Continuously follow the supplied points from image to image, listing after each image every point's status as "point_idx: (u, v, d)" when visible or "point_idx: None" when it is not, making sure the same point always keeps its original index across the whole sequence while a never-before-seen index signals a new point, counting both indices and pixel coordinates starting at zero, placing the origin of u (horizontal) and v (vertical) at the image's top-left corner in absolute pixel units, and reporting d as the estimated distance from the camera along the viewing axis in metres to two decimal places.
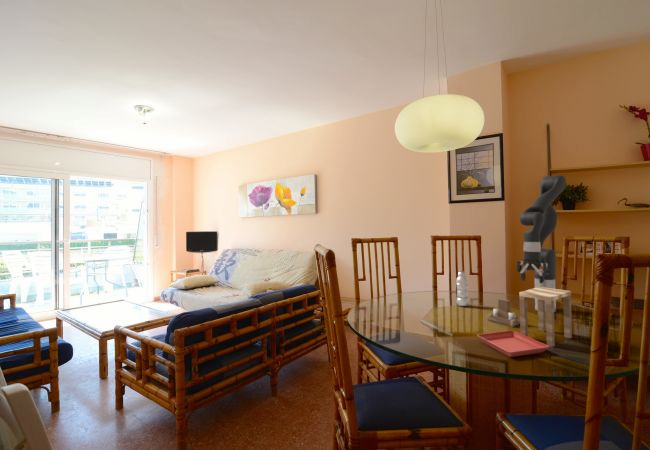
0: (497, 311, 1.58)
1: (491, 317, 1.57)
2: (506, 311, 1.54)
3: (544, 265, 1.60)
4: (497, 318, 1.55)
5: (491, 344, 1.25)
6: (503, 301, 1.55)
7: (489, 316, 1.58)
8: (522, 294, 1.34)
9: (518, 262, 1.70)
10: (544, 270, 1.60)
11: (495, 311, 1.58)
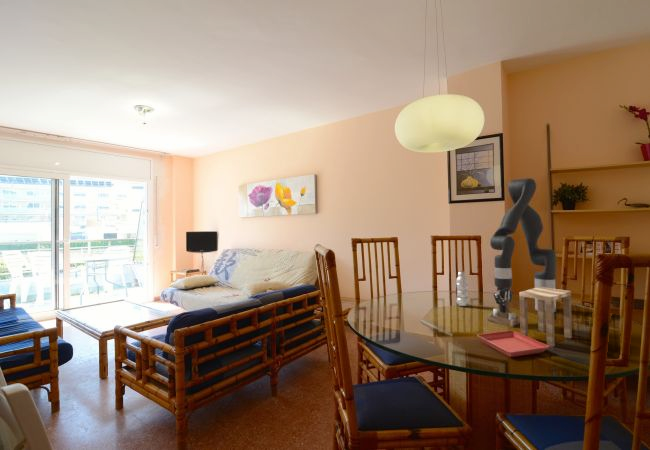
0: (497, 311, 1.58)
1: (491, 317, 1.57)
2: (506, 311, 1.54)
3: (512, 293, 1.58)
4: (497, 318, 1.55)
5: (491, 344, 1.25)
6: None
7: (489, 316, 1.58)
8: (522, 294, 1.34)
9: (499, 296, 1.52)
10: (511, 297, 1.57)
11: (495, 311, 1.58)
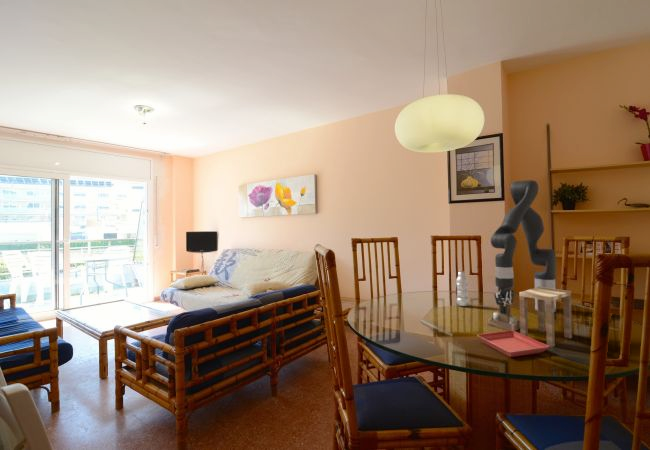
0: (497, 315, 1.52)
1: (491, 321, 1.51)
2: (507, 315, 1.48)
3: (514, 292, 1.51)
4: (497, 322, 1.49)
5: (491, 344, 1.25)
6: None
7: (489, 320, 1.52)
8: (522, 294, 1.34)
9: (500, 295, 1.45)
10: (513, 297, 1.51)
11: (495, 315, 1.52)
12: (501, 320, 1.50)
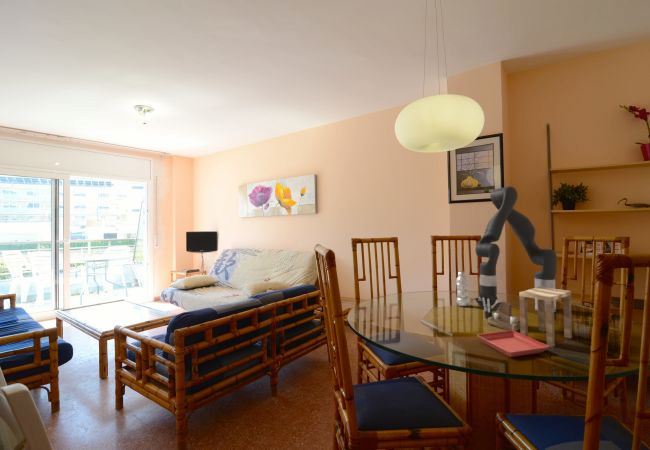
0: (498, 314, 1.51)
1: (492, 320, 1.51)
2: (508, 315, 1.48)
3: None
4: (498, 322, 1.48)
5: (491, 344, 1.25)
6: (505, 304, 1.49)
7: (489, 319, 1.52)
8: (522, 294, 1.34)
9: None
10: None
11: (496, 314, 1.52)
12: (501, 319, 1.50)
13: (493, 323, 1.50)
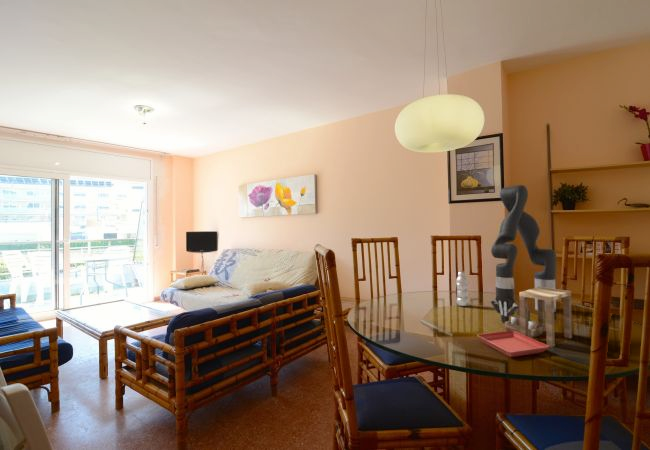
0: (516, 319, 1.44)
1: (509, 325, 1.44)
2: None
3: None
4: (516, 327, 1.41)
5: (491, 344, 1.25)
6: None
7: (506, 324, 1.45)
8: (522, 294, 1.34)
9: None
10: None
11: (513, 318, 1.45)
12: (519, 324, 1.43)
13: (510, 328, 1.43)
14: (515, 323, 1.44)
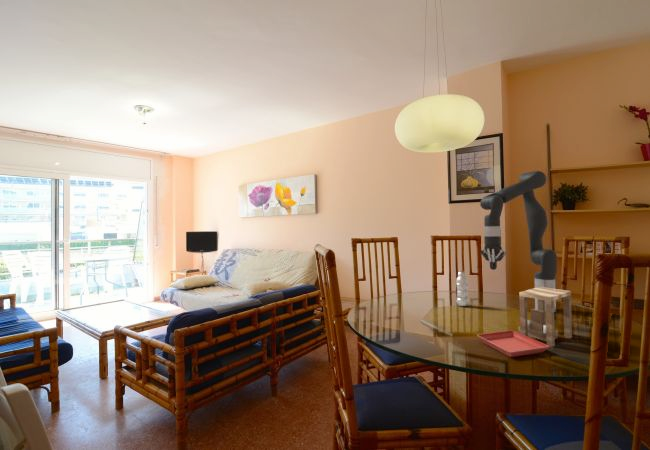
0: (529, 323, 1.39)
1: None
2: (540, 323, 1.35)
3: None
4: (530, 331, 1.36)
5: (491, 344, 1.25)
6: (537, 312, 1.37)
7: None
8: (522, 294, 1.34)
9: None
10: None
11: None
12: (533, 328, 1.38)
13: None
14: (529, 327, 1.39)
